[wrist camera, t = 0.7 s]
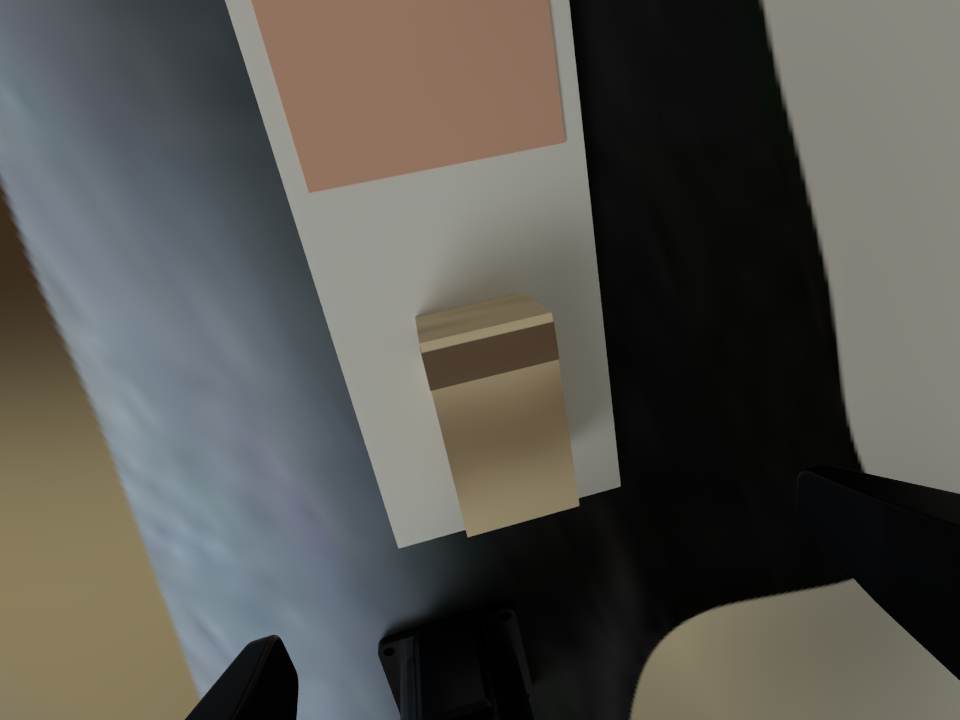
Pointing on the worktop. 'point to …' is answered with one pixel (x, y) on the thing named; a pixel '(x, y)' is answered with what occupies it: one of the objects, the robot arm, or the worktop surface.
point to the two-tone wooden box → (500, 410)
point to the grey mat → (434, 206)
